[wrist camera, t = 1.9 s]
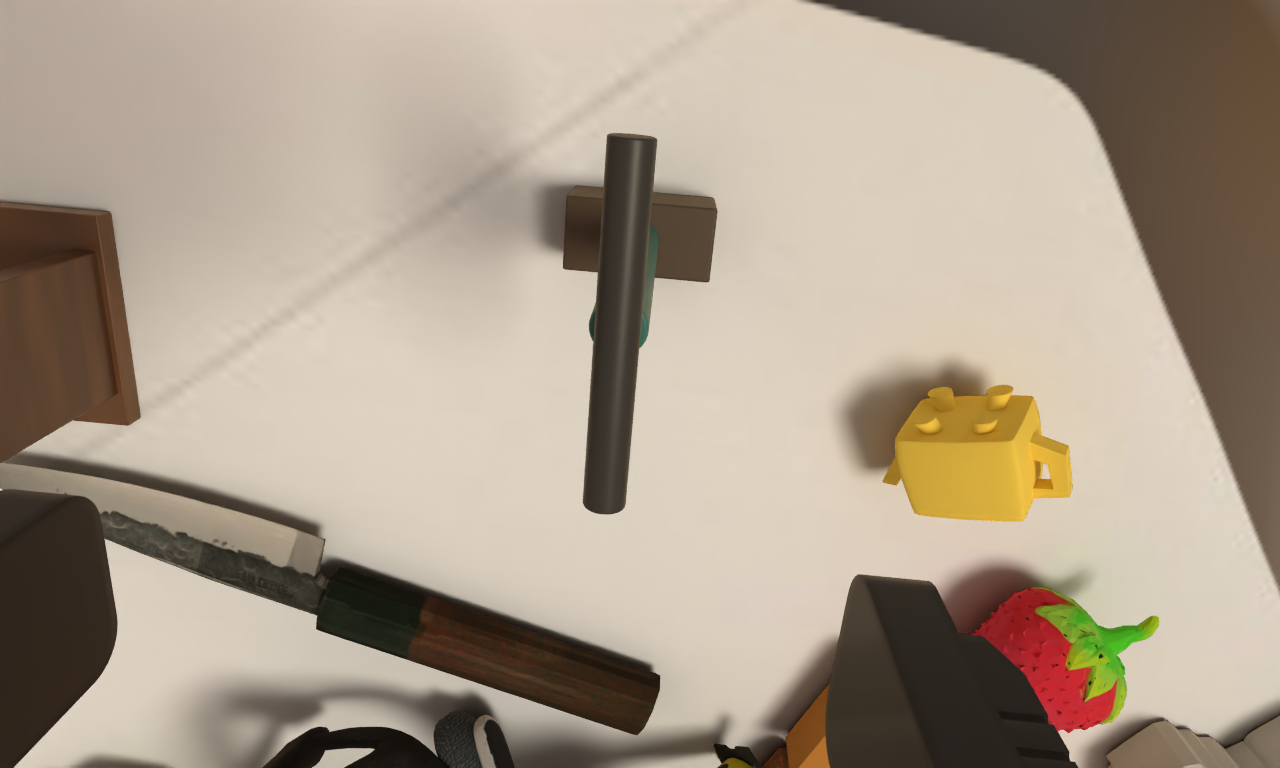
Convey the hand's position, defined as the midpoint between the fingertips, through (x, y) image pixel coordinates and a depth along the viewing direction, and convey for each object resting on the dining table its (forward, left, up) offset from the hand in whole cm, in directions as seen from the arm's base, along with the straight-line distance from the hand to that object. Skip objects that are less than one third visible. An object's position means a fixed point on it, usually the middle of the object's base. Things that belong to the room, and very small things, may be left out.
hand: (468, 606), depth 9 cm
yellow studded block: (+7, +15, -26) cm, 31 cm away
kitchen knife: (+20, -14, -29) cm, 38 cm away
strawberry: (+23, +18, -26) cm, 39 cm away
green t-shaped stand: (+1, +1, -29) cm, 29 cm away
